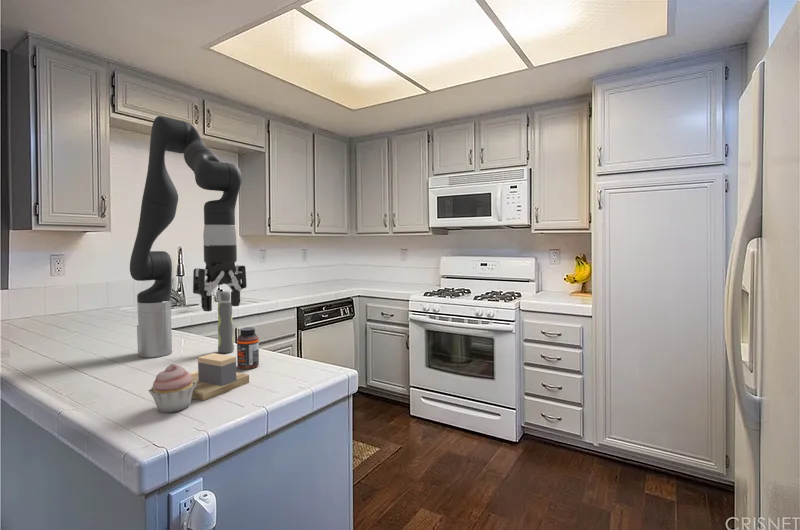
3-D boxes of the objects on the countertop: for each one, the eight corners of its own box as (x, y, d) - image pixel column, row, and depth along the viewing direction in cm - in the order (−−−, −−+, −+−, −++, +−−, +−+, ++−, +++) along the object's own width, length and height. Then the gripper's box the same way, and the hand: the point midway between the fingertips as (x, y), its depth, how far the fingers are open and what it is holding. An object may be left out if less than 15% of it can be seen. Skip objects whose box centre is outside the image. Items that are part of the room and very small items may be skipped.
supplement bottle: (232, 368, 122) (231, 329, 122) (248, 362, 128) (248, 325, 127) (247, 370, 120) (246, 331, 119) (263, 365, 125) (262, 327, 124)
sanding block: (198, 381, 105) (197, 357, 104) (213, 376, 109) (213, 353, 108) (221, 386, 101) (221, 361, 101) (236, 380, 105) (235, 356, 105)
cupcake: (140, 417, 89) (138, 370, 88) (162, 400, 98) (161, 357, 97) (186, 416, 89) (184, 369, 88) (204, 399, 98) (203, 357, 98)
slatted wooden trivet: (160, 390, 104) (160, 382, 104) (208, 374, 117) (208, 367, 116) (203, 400, 97) (203, 392, 97) (249, 382, 110) (249, 374, 110)
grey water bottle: (232, 349, 143) (230, 290, 142) (235, 352, 139) (233, 291, 138) (216, 351, 141) (215, 291, 139) (219, 354, 137) (217, 292, 135)
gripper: (232, 243, 113) (233, 303, 114) (184, 243, 100) (186, 311, 101) (253, 243, 110) (254, 305, 111) (206, 244, 97) (208, 314, 98)
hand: (221, 308), depth 106 cm, fingers open, 8 cm apart
